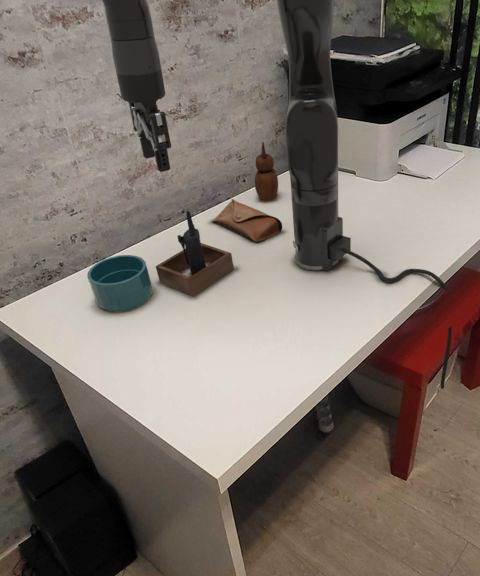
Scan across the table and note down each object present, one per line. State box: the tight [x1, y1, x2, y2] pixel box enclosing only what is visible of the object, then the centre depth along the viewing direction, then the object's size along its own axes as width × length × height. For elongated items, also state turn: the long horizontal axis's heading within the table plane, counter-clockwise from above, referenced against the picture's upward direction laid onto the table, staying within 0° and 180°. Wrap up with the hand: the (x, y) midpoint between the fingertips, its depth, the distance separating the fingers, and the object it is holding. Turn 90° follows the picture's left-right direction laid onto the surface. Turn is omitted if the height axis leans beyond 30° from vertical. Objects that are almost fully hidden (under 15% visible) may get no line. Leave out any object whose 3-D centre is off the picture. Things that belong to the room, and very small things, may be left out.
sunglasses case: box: [211, 198, 283, 243], centre depth 127 cm, size 18×7×7 cm, turn 44°
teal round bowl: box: [87, 254, 154, 313], centre depth 105 cm, size 11×11×6 cm
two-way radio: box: [177, 210, 207, 276], centre depth 106 cm, size 6×4×15 cm
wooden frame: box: [155, 242, 235, 297], centre depth 110 cm, size 10×12×4 cm
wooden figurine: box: [254, 141, 279, 201], centre depth 135 cm, size 7×6×15 cm
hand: (156, 163), depth 99 cm, fingers open, 8 cm apart
